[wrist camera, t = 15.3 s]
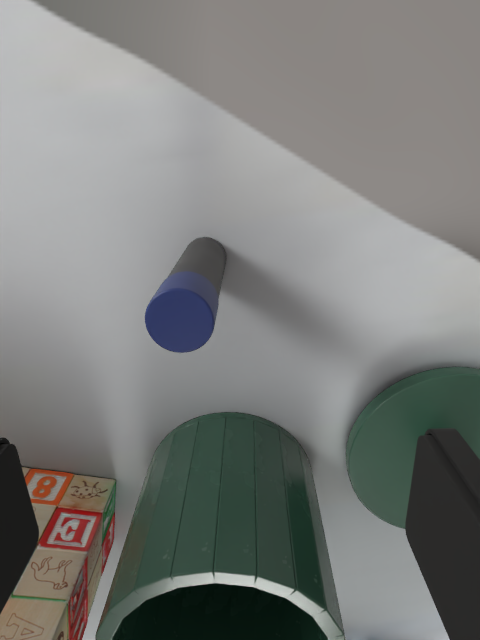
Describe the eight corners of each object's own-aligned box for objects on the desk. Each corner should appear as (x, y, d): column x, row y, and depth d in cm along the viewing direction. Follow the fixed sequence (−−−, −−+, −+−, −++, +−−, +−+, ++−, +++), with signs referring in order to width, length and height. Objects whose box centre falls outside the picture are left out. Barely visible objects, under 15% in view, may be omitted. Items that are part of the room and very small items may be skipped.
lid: (305, 446, 29) (320, 525, 23) (455, 323, 26) (521, 376, 19) (421, 540, 32) (462, 632, 26) (569, 441, 29) (658, 520, 22)
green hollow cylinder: (117, 482, 31) (46, 662, 20) (224, 380, 27) (209, 528, 17) (235, 563, 33) (229, 759, 23) (345, 478, 30) (400, 660, 19)
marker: (175, 259, 24) (130, 323, 15) (203, 226, 24) (174, 274, 14) (207, 287, 25) (183, 365, 16) (236, 256, 24) (228, 320, 15)
